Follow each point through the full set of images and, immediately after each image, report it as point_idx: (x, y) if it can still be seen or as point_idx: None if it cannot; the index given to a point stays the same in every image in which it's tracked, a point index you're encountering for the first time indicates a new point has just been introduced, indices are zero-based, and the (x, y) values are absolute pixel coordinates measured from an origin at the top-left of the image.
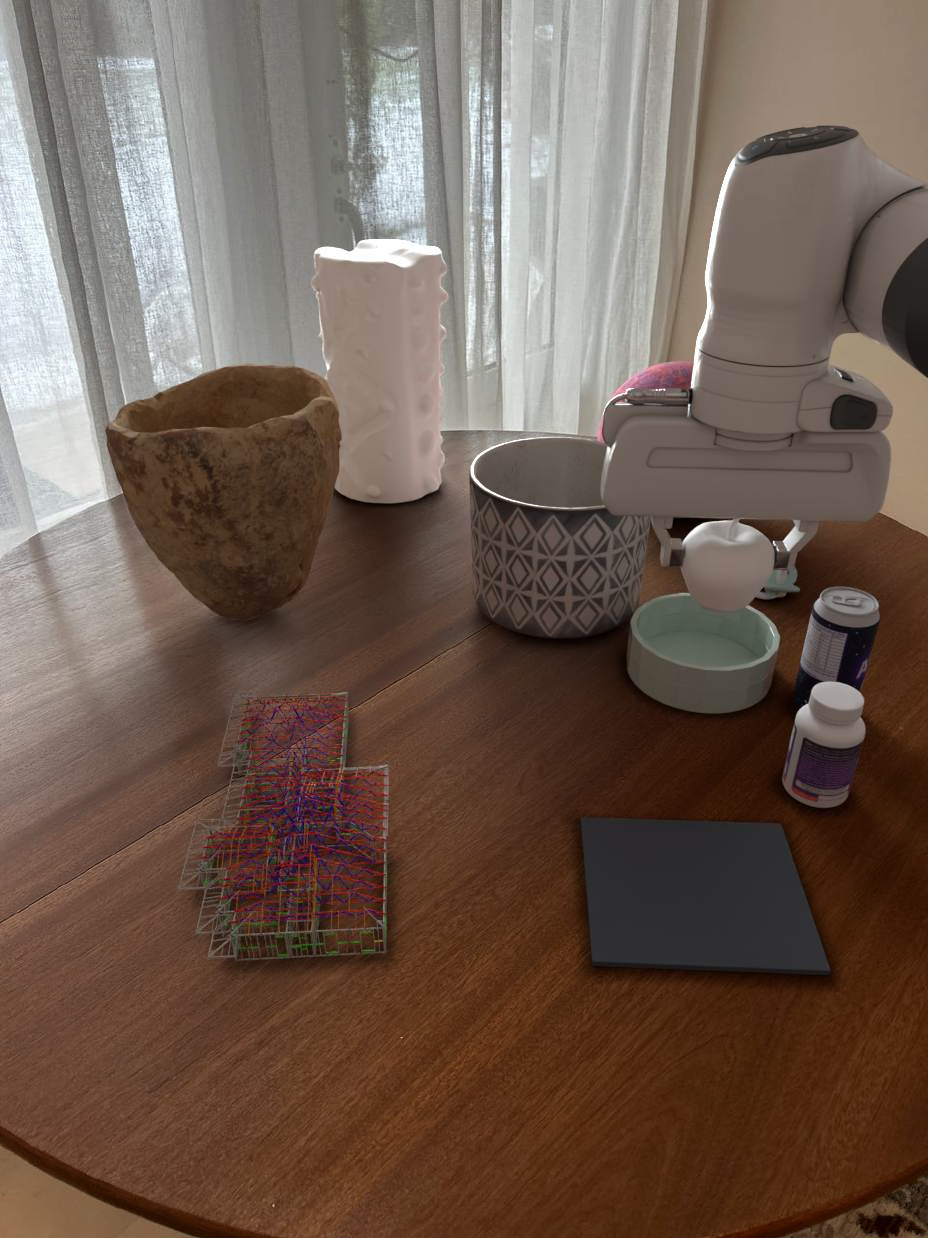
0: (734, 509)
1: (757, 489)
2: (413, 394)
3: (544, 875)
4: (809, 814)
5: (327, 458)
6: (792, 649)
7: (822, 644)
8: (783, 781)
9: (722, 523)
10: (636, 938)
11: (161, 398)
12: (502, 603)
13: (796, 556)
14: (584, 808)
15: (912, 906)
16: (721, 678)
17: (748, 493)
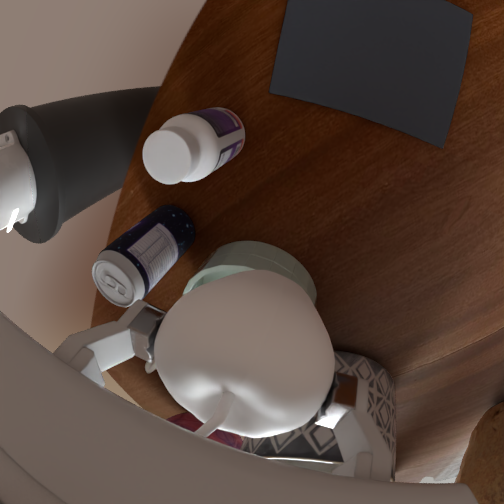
0: (213, 466)
1: (137, 493)
2: None
3: (485, 104)
4: (237, 104)
5: (482, 500)
6: (175, 292)
7: (152, 254)
8: (243, 141)
9: (227, 427)
10: (439, 16)
11: None
12: (391, 390)
13: (147, 361)
14: (432, 161)
15: (204, 9)
16: (253, 262)
17: (164, 493)
